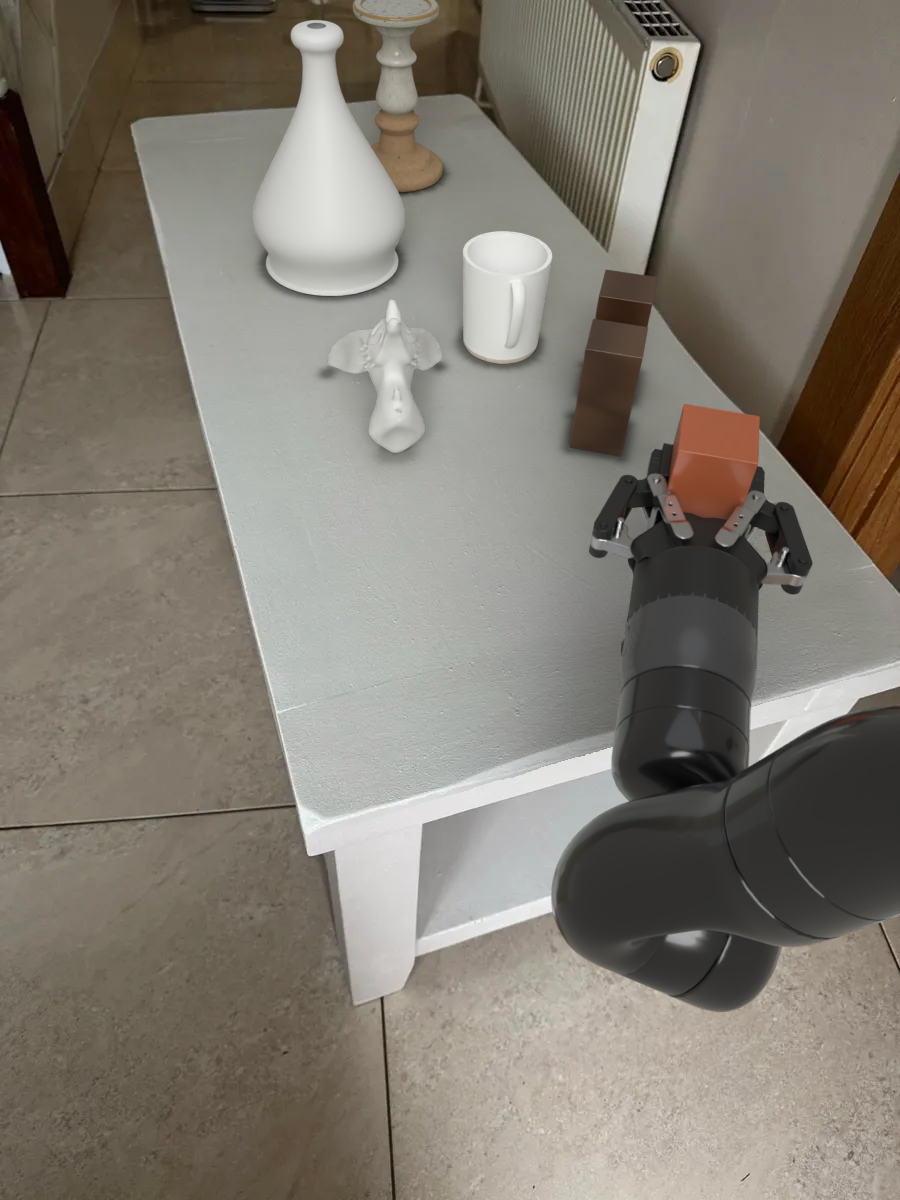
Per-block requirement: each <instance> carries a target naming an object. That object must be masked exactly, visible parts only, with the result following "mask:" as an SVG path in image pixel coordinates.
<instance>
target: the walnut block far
mask: <svg viewBox="0 0 900 1200" xmlns="http://www.w3.org/2000/svg"><path fill="white" fill-rule="evenodd" d="M657 281H658V277H657V276H651V275H647V274H639V273H632V272H625V271H621V270H613V269H605V271H604V274H603V278H602V281H601V286H600V290H599V294H598V298H597V305H596V311H595V317H594V319H599V320H605V321H611V322H618V323H624V324H630V325H637V326H643V327H648V328H649V322H650V318H651V313H652V308H653V303H654V297H655V292H656V287H657Z"/></svg>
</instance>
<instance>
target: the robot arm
mask: <svg viewBox="0 0 900 1200" xmlns="http://www.w3.org/2000/svg"><path fill="white" fill-rule="evenodd" d="M672 450H673V444H672V443H666V442H663V444H662V447H661V449H659V448H654V449H653V450H652V452H651V453H650V458H649V462H648V466H647V470H646V471H647V472H646V477H644V478H643V479H638V478H637V477H636V476H634V475H632V474H624V475H621V477H619V479H618V481H617V483H616V485H615V486H614V488H613V489H612V491H611V493H610V494H609V496H608V498H607V500H606V501H605V503H604V505H603V507H602V508H601V510H600V512H599V513H598V515H597V517H596V519H595V520H594V524H593V527H592V532H591V537H590V544H589V548H588V552H589V555H590V556H592V557H593V558H596V559H603V558H605V557H606V556H607V555H608V553H610V554H613V555H615V556H618V557H621V558H625V559H627V564H628V566H629V569H630V570H631V572H632V584H631V590H630V596H629V603H628V610H627V617H626V622H625V623H626V624H625V631H624V636H623V639H622V641H621V643H620V667H619V670H620V671H619V679H620V695H619V699H618V700H619V701H618V706H617V707H618V708H617V713H616V714H617V716H616V721H615V722H616V723H615V727H614V728H615V729H614V737H613V743H612V749H611V750H612V752H611V763H610V764H611V766H610V767H611V775H612V779H613V781H614V784H615V787H616V788H617V789H618V791H619V792H620V794H622V796H623V797H624V798H625V799H626V800H627V801H626V802H622V803H620V804H617V805H616V806H613V807H611V808H609V809H607V810H605V811H602V812H601V813H600V814H598V815H597V816H596V817H594V818H592V819H591V820H590V821H588V822H587V824H585V825H584V826H582V828H581V829H580V830H579V831H578V832H577V833H576V834H575V835H574V836H573V837H572V839H570V841H569V842H568V844H567V846H566V847H565V848H564V850H563V851H562V853H561V855H560V857H559V858H558V861H557V863H556V867H555V869H554V872H553V876H552V881H551V887H550V901H551V903H550V904H551V905H550V906H551V911H552V912H551V913H552V916H553V920H554V922H555V925H556V928H557V930H558V933H559V934H560V936H561V937H562V939H563V940H564V942H565V943H566V944H567V945H568V947H570V949H572V950H573V951H574V952H575V953H576V954H577V955H578V956H579V957H581V958H583V959H584V960H586V961H587V962H589V963H591V964H592V965H595V966H597V967H600V968H602V969H604V970H607V971H609V972H611V973H614V974H616V975H619V976H622V977H624V978H626V979H628V980H631V981H633V982H636V983H638V984H640V985H642V986H644V987H647V988H650V989H652V990H654V991H656V992H659V993H661V994H663V995H666V996H668V997H671V998H673V999H675V1000H678V1001H680V1002H683V1003H684V1004H687V1005H689V1006H692V1007H695V1008H697V1009H700V1010H703V1011H709V1012H712V1013H713V1012H714V1013H729V1012H733V1011H737V1010H739V1009H741V1008H743V1007H746V1006H747V1005H749V1004H750V1003H752V1002H753V1001H754V1000H755V999H756V998H757V997H759V995H760V994H761V993H762V992H763V991H764V989H765V988H766V987H767V985H768V984H769V981H770V979H771V978H772V977H773V974H774V973H775V970H776V969H777V965H778V962H779V959H780V955H781V952H782V949H783V948H800V947H809V946H813V945H817V944H821V943H825V942H828V941H832V940H835V939H838V938H840V937H844V936H847V935H849V934H852V933H855V932H859V931H861V930H864V929H866V928H869V927H872V926H875V925H877V924H881V923H883V922H887V921H890V920H892V919H894V918H898V917H900V704H896V705H883V706H875V707H874V706H873V707H869V708H864V709H858V710H854V711H852V712H849V713H846V714H842V715H839V716H836V717H834V718H831V719H829V720H826V721H825V722H822V723H821V724H819V725H816V726H815V727H813V728H810V729H808V730H807V731H805V732H803V733H802V734H800V735H799V736H797V737H795V738H793V739H792V740H790V741H789V742H787V743H786V744H784V745H782V746H781V747H779V748H777V749H776V750H774V751H773V752H771V753H770V754H767V755H766V756H764V757H763V758H761V759H760V760H759V759H758V761H755V762H754V763H753V764H751V765H750V749H751V745H750V744H751V718H752V717H751V715H752V714H751V713H752V703H753V698H754V694H755V689H756V683H757V675H758V639H759V637H758V634H759V633H758V632H759V603H760V602H759V601H760V600H759V599H760V598H759V596H760V590H761V589H762V588H763V586H764V585H780V588H781V590H782V591H783V592H784V593H786V594H788V595H792V596H793V595H798V594H799V593H800V592H801V591H802V588H803V587H804V584H805V582H806V580H807V577H808V575H809V573H810V571H811V569H812V568H813V564H814V563H813V560H812V557H811V554H810V551H809V548H808V545H807V542H806V539H805V537H804V536H805V535H804V533H803V531H802V528H801V525H800V523H799V520H798V516H797V514H796V511H795V508H794V506H793V505H792V504H791V503H789V502H785V501H779V502H777V503H772V502H770V501H769V500H768V499H767V497H766V496H767V495H765V480H766V479H765V478H766V476H765V475H766V474H765V473H766V472H765V470H764V468H763V466H759V465H758V466H757V469H756V472H755V475H754V477H753V480H752V483H751V486H750V489H749V491H748V494H747V497H746V500H745V502H742V503H741V504H740V506H739V505H738V506H737V507H736V509H735V510H734V511H733V513H732V514H731V516H730V517H729V519H728V520H726V519H720V518H703V517H700V516H697V515H694V514H692V513H686V512H683V511H682V508H681V506H680V504H679V501H678V499H677V496H676V495H675V494H671V491H670V489H668V484H667V482H668V478H669V473H670V466H671V458H672ZM636 508H637V509H638V508H641V510H642V513H643V515H644V518H645V520H646V523H647V529H646V530H645V531H643V532H642V533H641V534H639V535H637V536H636V537H635V538H632V537H630V536H629V534H628V532H629V526H628V525H627V524H626V521H627V519H628V517H629V516H630V514H631V512H632V510H633V509H636ZM755 528H756V529H759V530H761V531H764V536H765V539H766V543H767V546H768V548H769V552H770V555H771V558H770V561H769V562H766V560H765V558H763V556H761V554H760V553H759V552H758V551H757V549H756V548H755V547H754V546H753V545H752V544H751V542H750V541H748V539H749V538H750V536H751V534H752V533H753V532H754V530H755Z"/></svg>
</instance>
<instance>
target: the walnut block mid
mask: <svg viewBox="0 0 900 1200" xmlns="http://www.w3.org/2000/svg"><path fill="white" fill-rule="evenodd" d="M648 331H649V326H648V327H643V326H637V325H630V324H624V323H618V322H611V321H605V320H599V319H595V318H593V319H592V321H591V325H590V329H589V333H588V337H587V341H586V345H585V349H584V354H583V356H584V357H583V361H582V367H581V373H580V379H579V385H578V392H577V398H576V403H575V409H574V417H573V422H572V429H571V435H570V440H569V448H572V449H577V450H581V451H582V450H583V451H588V452H595V453H599V454H605V455H610V456H611V455H612V456H617V457H622V455H623V450H624V446H625V440H626V437H627V432H628V428H629V424H630V423H629V422H630V418H631V413H632V408H633V406H634V405H633V404H634V401H635V396H636V390H637V387H638V382H639V377H640V373H641V368H642V363H643V359H644V352H645V348H646V344H647V338H648V337H647V336H648Z"/></svg>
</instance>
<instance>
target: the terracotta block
mask: <svg viewBox="0 0 900 1200" xmlns="http://www.w3.org/2000/svg"><path fill="white" fill-rule="evenodd" d="M760 423H761V417H760V416H759V415H755V414H749V413H742V412H737V411H731V410H723V409H718V408H711V407H706V406H699V405H693V404H687V403H683V405H682V409H681V413H680V416H679V420H678V424H677V427H676V432H675V436H674V440H673V450H672V458H671V466H670V473H669V478H668V482H667V484H668V489H670V491H671V494H675V495H676V496H677V499H678V501H679V504H680V506H681V508H682V511H683V512H686V513H692V514H694V515H697V516H700V517H703V518H720V519H726V520H728V519H729V517H730V516H731V514H732V513H733V511H734V510H735V509H736V507H737V506H738V505H739V506H740V504H741V503H742V502H745V500H746V497H747V494H748V491H749V489H750V486H751V483H752V480H753V477H754V475H755V472H756V469H757V466H759V458H760V457H759V456H760V455H759V453H760V425H761V424H760Z"/></svg>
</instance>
